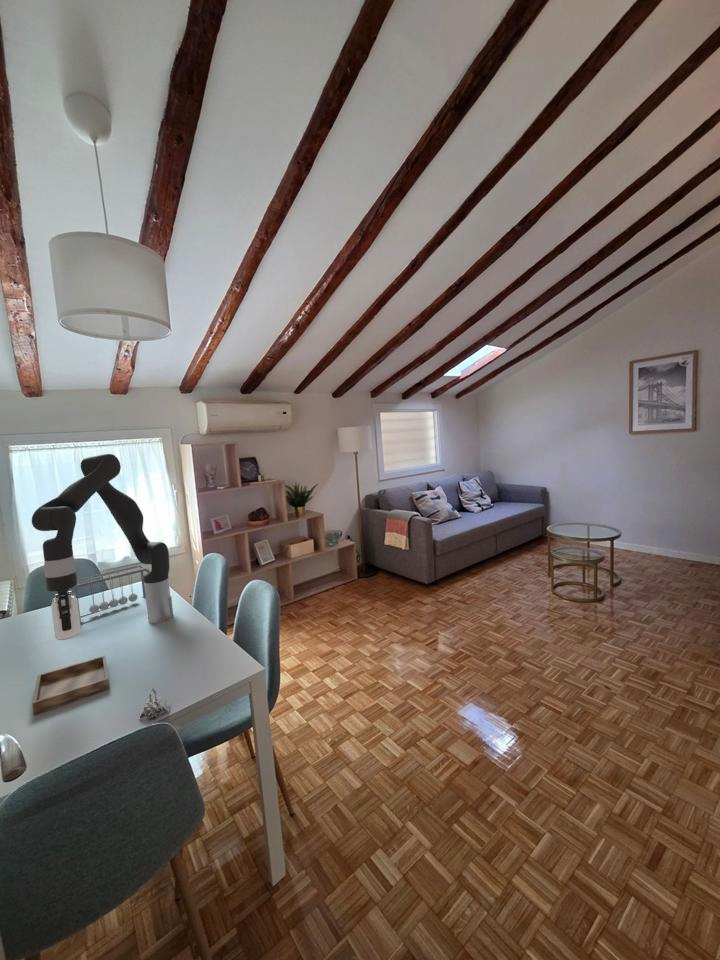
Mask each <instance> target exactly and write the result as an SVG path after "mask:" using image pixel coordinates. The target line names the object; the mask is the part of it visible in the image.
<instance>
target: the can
mask: <svg viewBox="0 0 720 960" xmlns="http://www.w3.org/2000/svg"><path fill="white" fill-rule="evenodd" d="M68 599H69V598H68ZM51 601H52V602H51V606H50V607H51V616H52V623H53V632H54V638H55V640H57V641H64V640H65V641H66V640H70V639H73V638H75V637H77V636H79V635H80V634H81V632H82V627H81V625H80V617H79V610H80V607H79V608H78V602H79V600H78V601H77V598H76V597H75V595H74V593H73V594H72V599H71V605H72V608H71V609H70V614H71V617H70V618H71V627H72V628H71V629H70V630H67V631H63V630H62V623H61V619H60V618H59V616H60V615H59V611H58V610H57V602H56V601H55V597H54V598H53V599H51ZM66 613H68V611H62V614H66Z"/></svg>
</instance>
